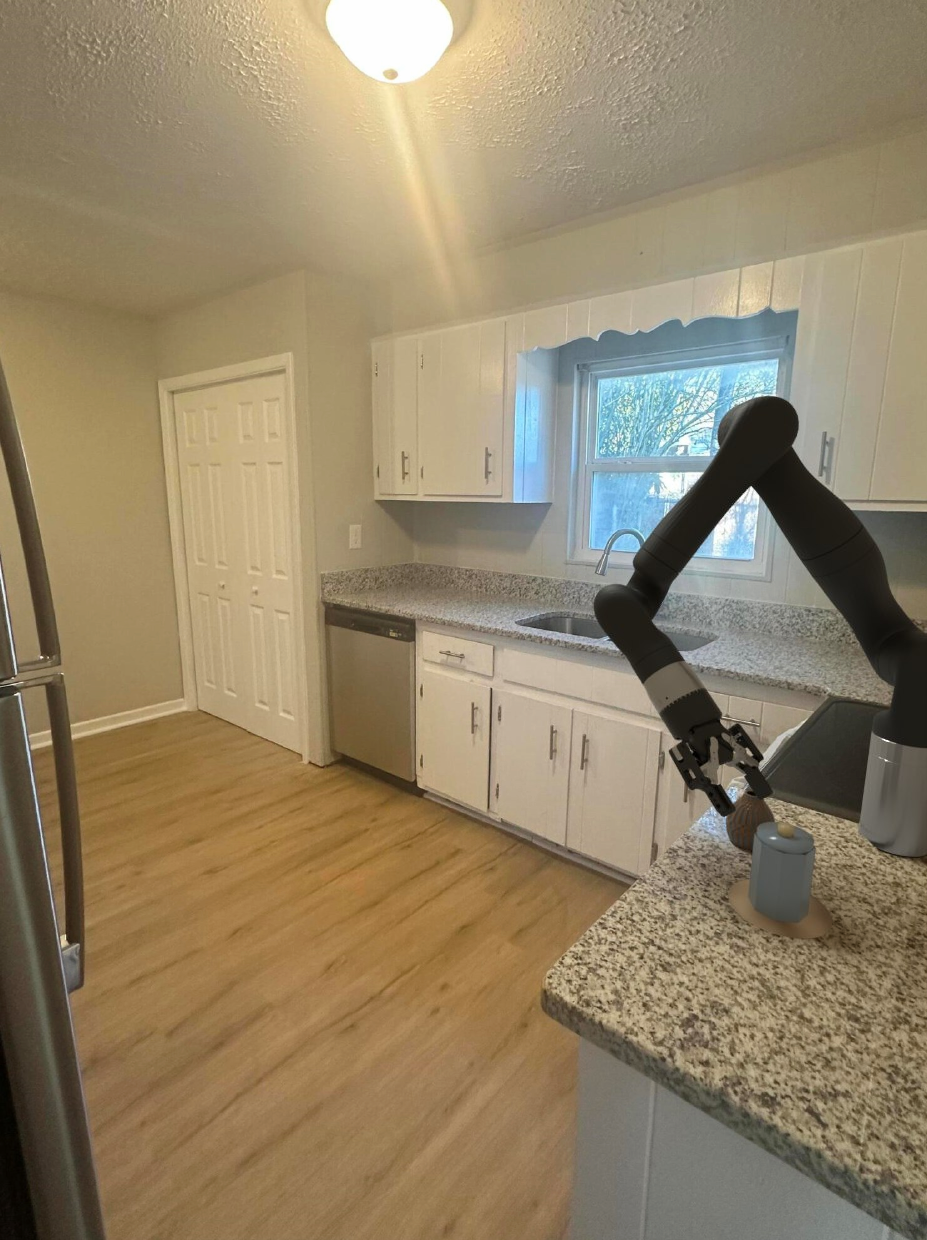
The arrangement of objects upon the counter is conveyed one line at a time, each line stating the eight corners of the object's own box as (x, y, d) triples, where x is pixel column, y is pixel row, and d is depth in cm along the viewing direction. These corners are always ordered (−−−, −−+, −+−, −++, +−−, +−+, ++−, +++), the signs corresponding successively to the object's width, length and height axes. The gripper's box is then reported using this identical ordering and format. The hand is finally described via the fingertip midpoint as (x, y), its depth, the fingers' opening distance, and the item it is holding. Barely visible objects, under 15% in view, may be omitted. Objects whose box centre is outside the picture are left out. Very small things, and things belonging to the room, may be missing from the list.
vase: (767, 864, 91) (773, 808, 89) (718, 848, 95) (723, 795, 93) (777, 843, 96) (783, 791, 95) (730, 830, 100) (735, 779, 99)
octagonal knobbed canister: (793, 892, 83) (802, 815, 81) (814, 924, 77) (824, 841, 74) (743, 888, 84) (750, 811, 82) (759, 920, 77) (768, 837, 75)
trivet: (806, 887, 85) (807, 881, 85) (850, 948, 74) (851, 942, 73) (716, 881, 87) (716, 875, 86) (745, 940, 75) (745, 934, 75)
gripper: (665, 695, 83) (737, 809, 75) (728, 678, 91) (799, 780, 83) (632, 722, 88) (696, 831, 81) (694, 704, 96) (758, 802, 89)
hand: (749, 805), depth 82 cm, fingers open, 8 cm apart
